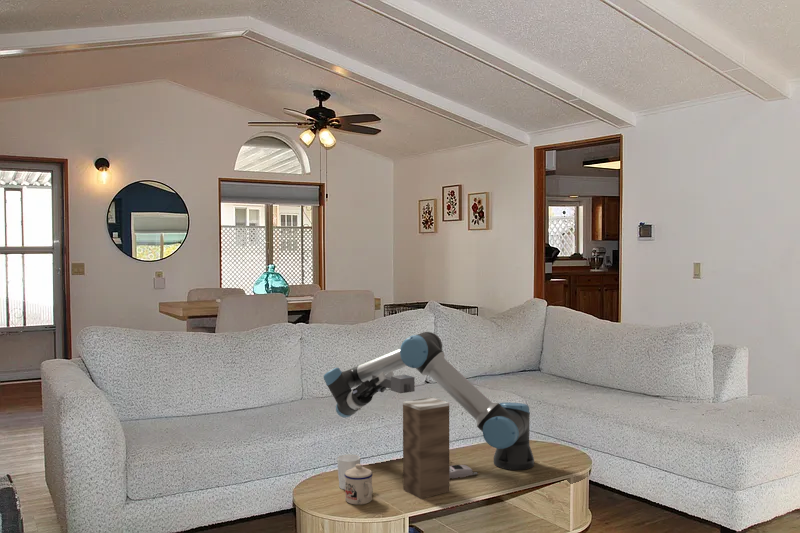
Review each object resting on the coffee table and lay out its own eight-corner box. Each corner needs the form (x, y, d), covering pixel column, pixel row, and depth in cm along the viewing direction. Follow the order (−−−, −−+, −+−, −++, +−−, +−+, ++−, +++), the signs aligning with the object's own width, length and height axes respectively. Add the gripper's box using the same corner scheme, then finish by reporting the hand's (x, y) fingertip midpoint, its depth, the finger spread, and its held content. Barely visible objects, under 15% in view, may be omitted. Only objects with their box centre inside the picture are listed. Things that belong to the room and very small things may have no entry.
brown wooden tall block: (403, 489, 234) (402, 401, 233) (431, 483, 241) (431, 397, 240) (420, 498, 226) (420, 407, 225) (449, 491, 233) (449, 402, 232)
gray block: (368, 383, 257) (368, 370, 257) (382, 381, 261) (382, 368, 260) (400, 393, 240) (400, 379, 240) (414, 391, 243) (414, 377, 243)
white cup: (333, 485, 239) (333, 456, 239) (354, 481, 243) (354, 453, 243) (343, 492, 232) (343, 462, 232) (364, 488, 236) (364, 459, 236)
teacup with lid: (339, 499, 226) (339, 463, 226) (362, 493, 232) (362, 458, 231) (359, 510, 217) (359, 473, 216) (383, 503, 222) (383, 467, 222)
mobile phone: (407, 462, 246) (471, 455, 254) (407, 478, 247) (471, 470, 254) (412, 467, 241) (478, 460, 248) (412, 484, 241) (478, 476, 249)
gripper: (380, 403, 272) (409, 382, 255) (344, 409, 263) (372, 387, 246) (375, 385, 275) (403, 363, 257) (339, 390, 266) (366, 367, 249)
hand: (388, 374), depth 252 cm, fingers closed on gray block, 3 cm apart
